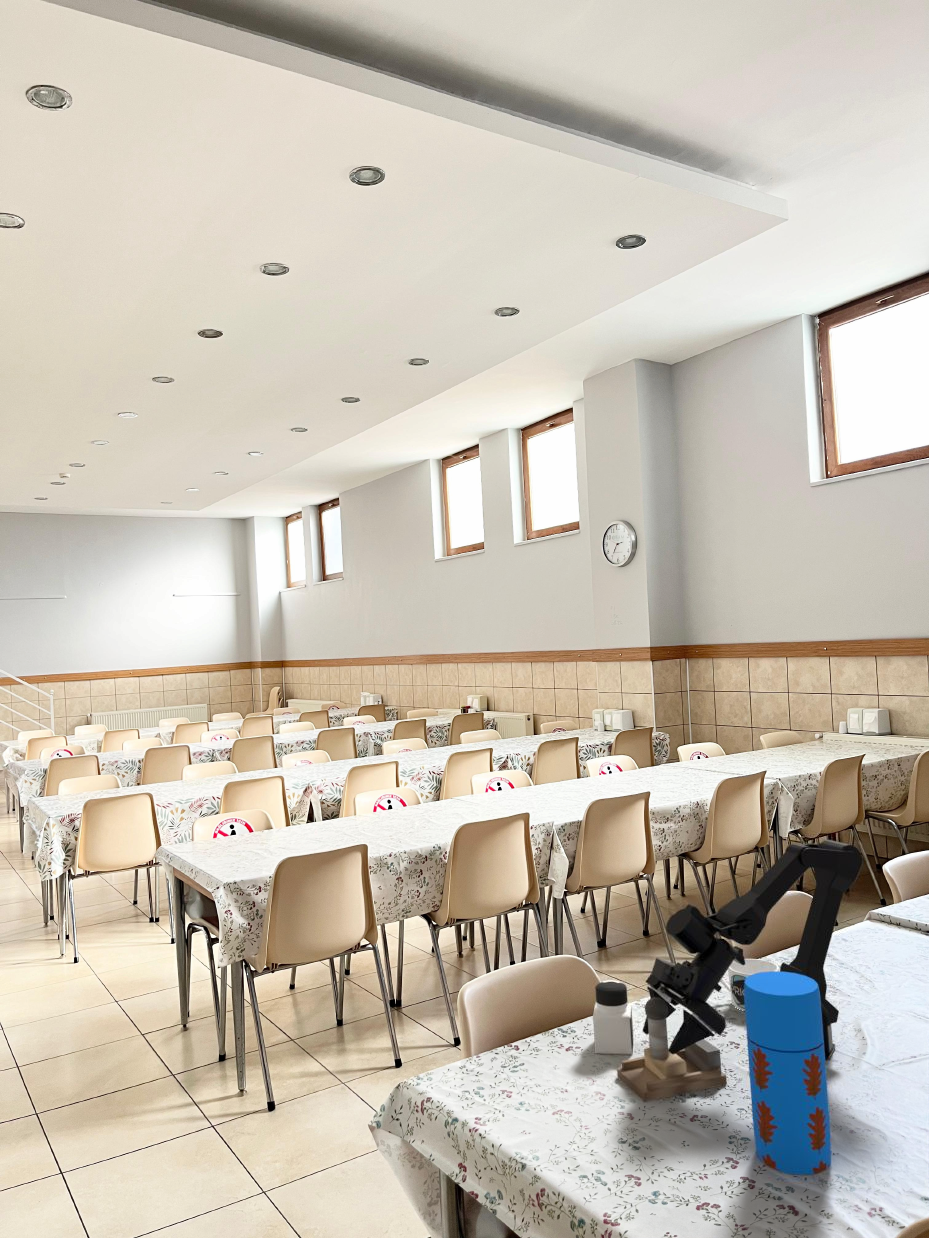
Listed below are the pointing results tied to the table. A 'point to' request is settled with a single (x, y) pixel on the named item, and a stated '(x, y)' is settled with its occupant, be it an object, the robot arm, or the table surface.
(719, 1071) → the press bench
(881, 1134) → the table surface
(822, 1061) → the thermos
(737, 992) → the mug
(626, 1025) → the medicine bottle
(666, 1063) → the press handle
